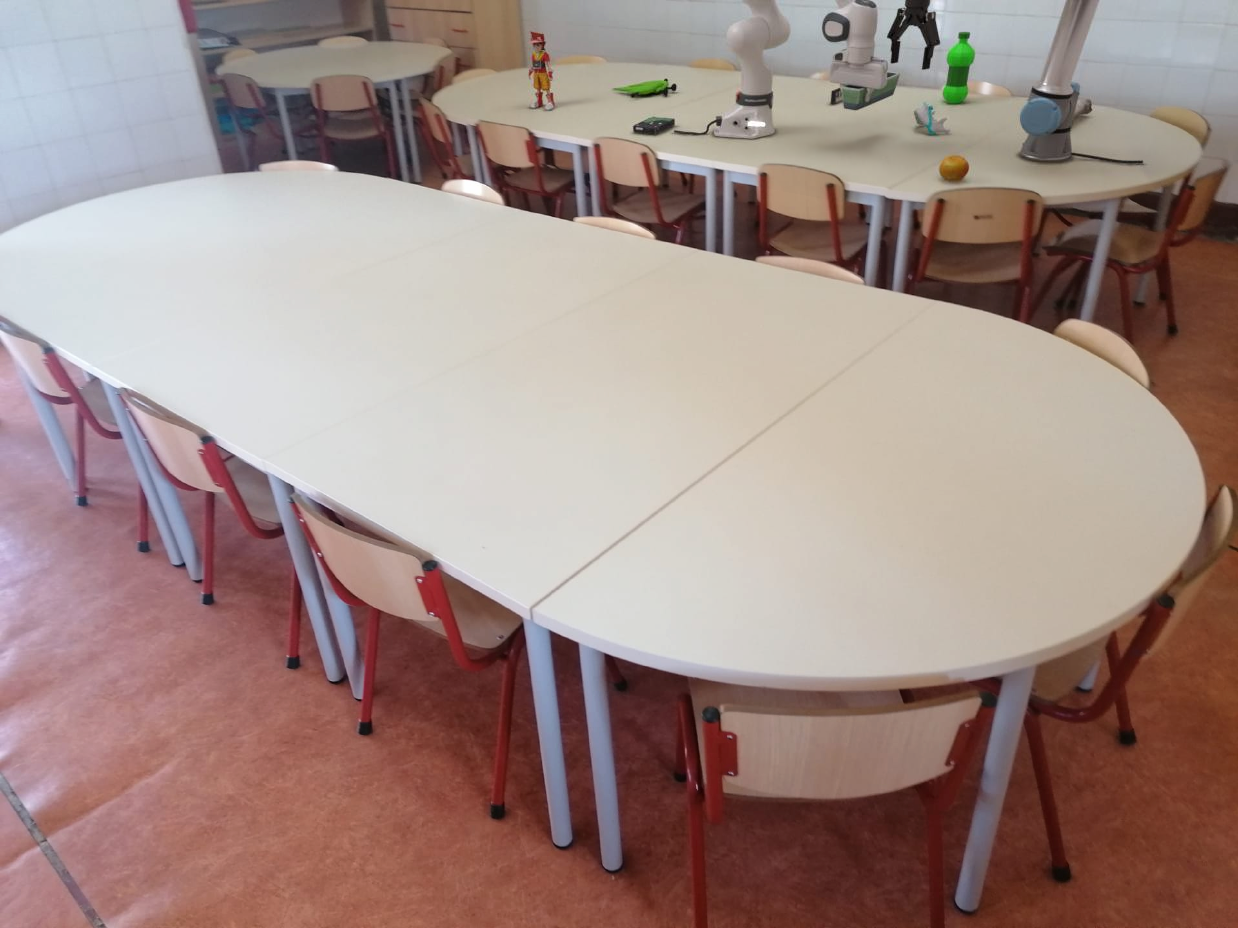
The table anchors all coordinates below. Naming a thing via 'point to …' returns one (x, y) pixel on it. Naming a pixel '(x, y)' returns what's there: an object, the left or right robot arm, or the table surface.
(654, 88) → the toy
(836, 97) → the midi keyboard
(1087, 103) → the rolled mat
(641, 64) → the table surface
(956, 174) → the fruit
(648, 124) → the disk drive
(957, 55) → the plastic bottle
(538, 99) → the toy
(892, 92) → the planter
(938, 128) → the anatomical model
